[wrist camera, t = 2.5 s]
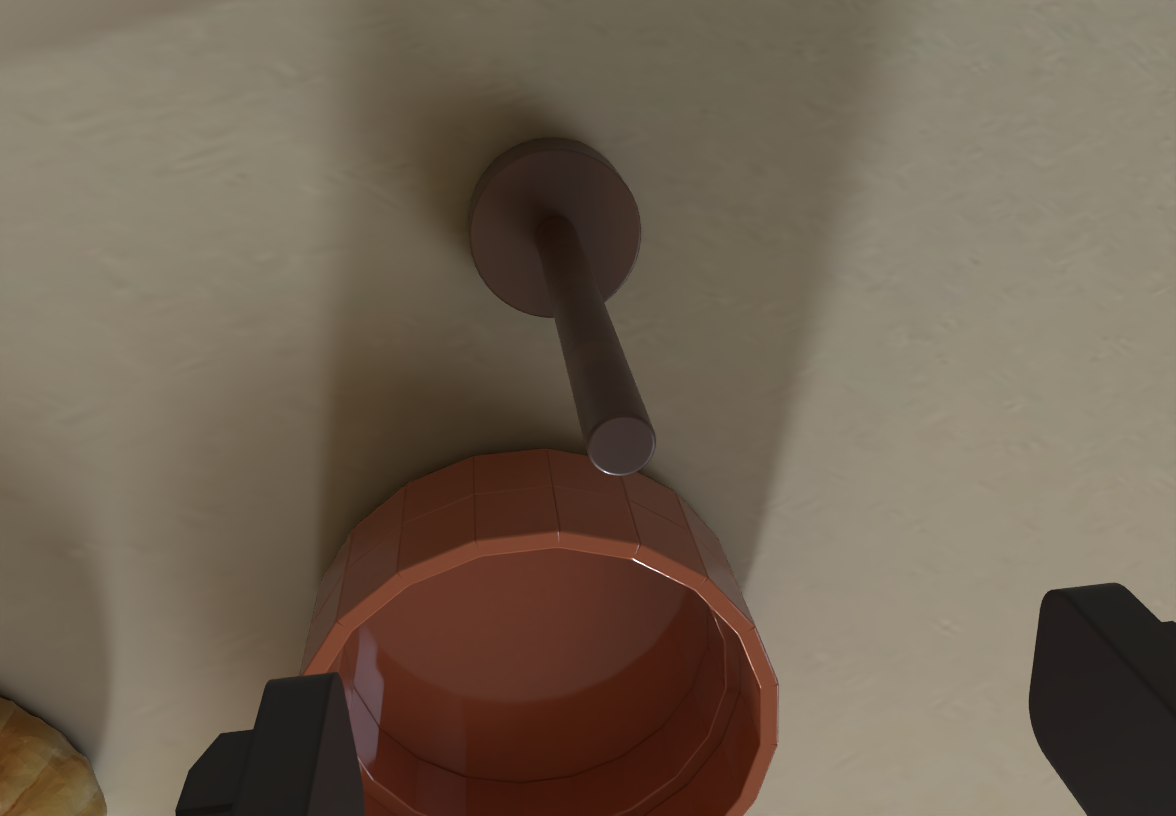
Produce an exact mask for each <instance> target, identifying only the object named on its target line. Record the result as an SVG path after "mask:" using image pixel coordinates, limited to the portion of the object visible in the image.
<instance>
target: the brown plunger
mask: <svg viewBox="0 0 1176 816" xmlns="http://www.w3.org/2000/svg"><path fill="white" fill-rule="evenodd" d="M469 238H470V248H471V253H472V257H473V260H474V263H475V266H476V268H477V270H478V272H479V274H480V276H481V278H482V279H483V281H484V282H485V284H486V285H487V286H488V287H489V289H490V290H491V291H492V292H493V293H494V294H495V295H496V296H497V297H498V298H500V299H501V300H502V301H503V302H505V303H506V304H508V305H509V306H511V307H513V308H515V309H517V310H519V311H521V312H524V313H527V314H530V315H534V316H539V317H547V318H555V322H556V327H557V331H558V335H559V339H560V343H561V347H562V351H563V356H564V360H565V364H566V368H567V372H568V376H569V380H570V385H571V389H572V393H573V397H574V401H575V405H576V409H577V413H578V418H579V422H580V426H581V430H582V434H583V438H584V442H585V447H586V451H587V454H588V457H589V459H590V461H591V462H592V463H593V465H594V466H595V467H597V468H598V469H599V470H601V471H603V472H605V473H607V474H610V475H617V476H621V475H628V474H632V473H634V472H636V471H638V470H640V469H641V468H643V467H644V466H645V465H646V464H647V463H648V462H649V460H650V459H651V457H652V456H653V453H654V451H655V447H656V436H655V432H654V429H653V427H652V424H651V422H650V419H649V417H648V414H647V412H646V409H645V406H644V404H643V401H642V399H641V396H640V394H639V391H638V388H637V386H636V383H635V381H634V378H633V376H632V373H631V371H630V368H629V365H628V363H627V360H626V358H625V355H624V353H623V350H622V347H621V345H620V342H619V340H618V337H617V335H616V332H615V329H614V327H613V324H612V322H611V319H610V317H609V314H608V312H607V309H606V306H605V304H604V302H605V301H606V300H607V299H609V298H610V297H611V296H612V295H613V294H614V293H615V292H616V291H617V290H618V289H619V288H620V287H621V286H622V285H623V283H624V282H625V281H626V279H627V278H628V276H629V274H630V273H631V271H632V269H633V267H634V264H635V262H636V259H637V256H638V252H639V248H640V241H641V224H640V216H639V212H638V208H637V205H636V203H635V200H634V198H633V195H632V194H631V192H630V190H629V188H628V187H627V185H626V184H625V182H624V181H623V179H622V178H621V176H620V175H619V173H618V172H617V171H616V169H615V168H614V167H613V165H612V164H611V163H610V162H609V161H608V160H607V159H606V158H605V157H603V156H602V155H601V154H599V153H598V152H597V151H595V150H593V149H592V148H590V147H588V146H586V145H584V144H581V143H579V142H576V141H572V140H568V139H561V138H541V139H535V140H531V141H527V142H524V143H521V144H519V145H517V146H515V147H512V148H511V149H509V150H508V151H506V152H504V153H503V154H502V155H500V156H499V157H498V158H497V159H496V160H494V161H493V163H492V164H491V165H490V166H489V167H488V168H487V169H486V171H485V172H484V173H483V175H482V176H481V178H480V180H479V182H478V184H477V185H476V188H475V190H474V193H473V196H472V200H471V204H470V212H469Z"/></svg>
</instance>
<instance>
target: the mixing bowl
mask: <svg viewBox="0 0 1176 816" xmlns="http://www.w3.org/2000/svg"><path fill="white" fill-rule="evenodd" d="M331 672H338V673H339V675H340V677H341V680H342V683H343V687H344V692H345V697H346V702H347V707H348V712H349V717H350V722H351V727H352V732H353V737H354V742H355V747H356V752H357V757H358V762H359V767H360V772H361V777H362V784H363V792H364V805H365V816H743V815H744V814H745V813H746V812H747V810H748V809H749V808H750V807H751V806H752V804H753V803H754V802H755V800H756V798H757V796H758V793H759V791H760V788H761V785H762V783H763V780H764V778H765V775H766V773H767V770H768V768H769V765H770V763H771V760H772V758H773V755H774V753H775V750H776V748H777V743H778V704H779V684H778V680H777V677H776V675H775V673H774V670H773V668H772V665H771V663H770V660H769V658H768V655H767V653H766V650H765V648H764V645H763V643H762V641H761V638H760V636H759V633H758V631H757V628H756V626H755V623H754V621H753V619H752V616H751V614H750V612H749V609H748V607H747V605H746V602H745V600H744V598H743V595H742V593H741V591H740V588H739V586H738V584H737V581H736V579H735V577H734V574H733V572H732V570H731V567H730V565H729V563H728V560H727V558H726V556H725V553H724V551H723V549H722V546H721V544H720V542H719V539H718V538H717V536H716V535H715V533H714V532H713V531H712V530H711V529H710V528H709V527H708V526H707V525H706V524H705V523H704V522H703V521H702V520H701V519H700V517H699V516H698V515H697V514H696V513H695V512H694V511H693V510H692V509H691V508H690V507H689V506H688V505H687V504H686V503H685V501H684V500H683V499H682V498H681V497H680V496H679V495H678V494H677V493H675V492H674V491H672V490H670V489H669V488H667V487H665V486H663V485H661V484H659V483H657V482H655V481H653V480H651V479H649V478H648V477H646V476H644V475H642V474H640V473H638V472H634V473H632V474H628V475H621V476H617V475H610V474H607V473H605V472H603V471H601V470H599V469H598V468H597V467H595V466H594V465H593V463H592V462H591V461H590V459H589V457H588V456H586V455H581V454H575V453H569V452H564V451H558V450H553V449H546V448H542V449H533V450H524V451H514V452H505V453H496V454H486V455H477V456H474V457H470V458H467V459H465V460H462V461H460V462H458V463H455V464H453V465H450V466H448V467H445V468H443V469H441V470H438V471H436V472H433V473H431V474H428V475H426V476H424V477H421V478H419V479H416V480H414V481H411V482H409V483H407V485H405V486H403V487H402V488H401V489H400V490H399V491H397V492H396V493H395V494H394V495H393V496H391V497H390V498H389V499H388V500H386V501H385V502H384V503H383V504H382V505H380V506H379V507H378V508H377V509H376V510H374V511H373V512H372V513H371V514H370V515H368V516H367V517H366V518H365V519H364V520H362V521H361V522H360V523H359V524H357V525H356V526H355V528H354V529H352V531H351V532H350V534H349V536H348V537H347V539H346V541H345V542H344V544H343V545H342V547H341V549H340V550H339V552H338V554H337V555H336V557H335V559H334V560H333V562H332V564H331V565H330V567H329V568H328V570H327V572H326V573H325V575H324V577H323V578H322V580H321V583H320V586H319V590H318V594H317V599H316V603H315V608H314V612H313V617H312V621H311V626H310V630H309V634H308V639H307V643H306V648H305V652H304V657H303V661H302V666H301V670H300V674H299V676H305V675H314V674H323V673H331Z"/></svg>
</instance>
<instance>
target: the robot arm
mask: <svg viewBox="0 0 1176 816" xmlns="http://www.w3.org/2000/svg"><path fill="white" fill-rule="evenodd" d="M1029 713H1030V719H1031V724H1032V727H1033V731H1034V734H1035V737H1036V739H1037V742H1038V744H1039V746H1040V748H1041V750H1042V752H1043V753H1044V755H1045V757H1046V758H1047V759H1048V761H1049V762H1050V764H1051V765H1052V766H1053V768H1054V769H1055V771H1056V772H1057V773H1058V775H1059V776H1060V778H1061V779H1062V780H1063V782H1064V783H1065V785H1066V786H1067V788H1068V789H1069V790H1070V792H1071V793H1072V795H1073V796H1074V797H1075V799H1076V800H1077V802H1078V803H1079V804H1080V806H1081V807H1082V809H1083V810H1084V811H1085V813H1086V814H1087V816H1176V623H1175V622H1174V621H1168V622H1161V621H1160V620H1159V619H1158V618H1157V617H1156V616H1155V615H1154V614H1153V613H1151V612H1150V611H1149V610H1148V609H1147V608H1146V607H1145V606H1144V605H1143V604H1142V603H1141V602H1140V601H1139V600H1138V599H1137V598H1136V597H1135V596H1134V595H1133V594H1132V593H1131V592H1130V591H1129V590H1128V589H1127V588H1125V587H1124V586H1123V585H1121V584H1118V583H1106V584H1097V585H1089V586H1080V587H1072V588H1063V589H1055V590H1050V591H1048V592H1047V593H1046V594H1045V596H1044V598H1043V600H1042V603H1041V607H1040V614H1039V622H1038V630H1037V637H1036V645H1035V653H1034V661H1033V668H1032V676H1031V684H1030V692H1029ZM175 812H176V816H365V805H364V792H363V784H362V777H361V772H360V767H359V762H358V757H357V752H356V747H355V742H354V737H353V732H352V727H351V722H350V717H349V712H348V707H347V702H346V697H345V692H344V687H343V683H342V680H341V677H340V675H339V673H338V672H331V673H323V674H314V675H305V676H297V677H288V678H280V679H272V680H269V681H268V682H267V684H266V686H265V689H264V692H263V696H262V700H261V703H260V707H259V711H258V714H257V718H256V722H255V725H254V729H253V730H245V731H237V732H229V733H220V735H219V736H218V737H217V738H216V739H215V741H214V742H213V743H212V744H211V745H210V746H209V748H208V749H207V750H206V751H205V752H204V753H203V755H202V756H201V757H200V758H199V759H198V760H197V762H196V763H195V764H194V765H193V766H192V768H191V769H190V770H189V772H188V775H187V778H186V781H185V784H184V787H183V789H182V792H181V795H180V798H179V801H178V804H177V807H176V810H175Z"/></svg>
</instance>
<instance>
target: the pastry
mask: <svg viewBox="0 0 1176 816" xmlns="http://www.w3.org/2000/svg"><path fill="white" fill-rule="evenodd" d="M106 815H107V806H106V802H105V799H104V796H103V793H102V791H101V788H100V786H99V784H98V782H97V779H96V777H95V774H94V771H93V768H92V766H91V764H90V762H89V760H88V758H87V756H82V755H81V754H80V753H79V752H77V751H76V750H75V749H74V748H73V747H72V746H71V745H70V743H69V742H68V741H67V739H66V737H65V735H63V734H62V733H60V732H59V731H57V730H56V729H54V728H52V727H51V726H49V725H47V724H46V723H45V722H44V721H43V720H41V719H40V718H38V717H34V716H32V715H30V714H28V713H27V712H26V711H24V710H23V709H22V708H20V707H19V706H18V705H16V704H15V703H14V702H13V700H12V701H8V700H5V699H3V698H1V697H0V816H106Z"/></svg>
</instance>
